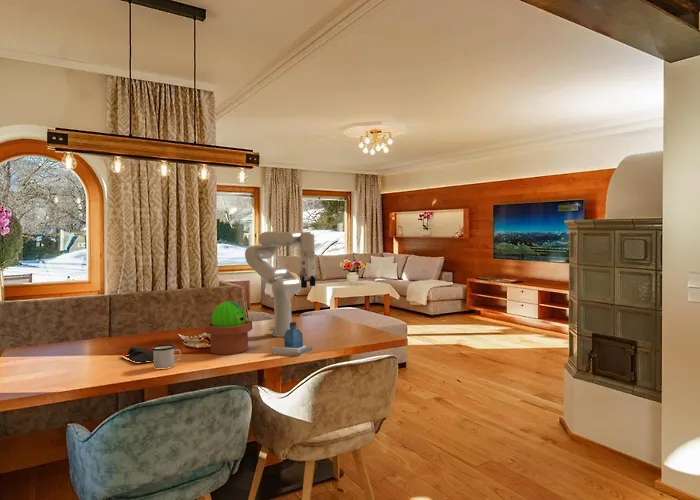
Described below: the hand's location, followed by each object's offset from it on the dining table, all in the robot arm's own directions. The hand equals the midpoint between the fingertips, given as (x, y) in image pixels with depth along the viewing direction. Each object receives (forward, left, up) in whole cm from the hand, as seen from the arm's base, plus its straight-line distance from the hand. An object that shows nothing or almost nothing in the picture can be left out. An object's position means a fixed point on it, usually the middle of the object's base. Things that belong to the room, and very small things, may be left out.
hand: (308, 286), depth 254 cm
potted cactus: (-26, -35, -28) cm, 52 cm away
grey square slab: (+5, -27, -28) cm, 39 cm away
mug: (-34, -68, -28) cm, 81 cm away
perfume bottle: (+5, -26, -27) cm, 38 cm away
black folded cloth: (-56, -61, -29) cm, 87 cm away
